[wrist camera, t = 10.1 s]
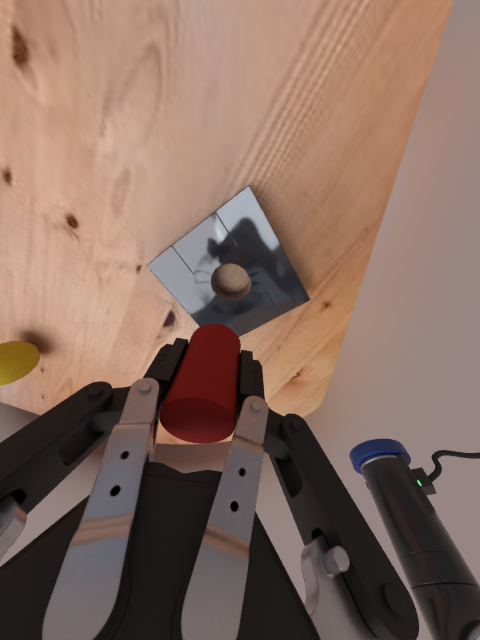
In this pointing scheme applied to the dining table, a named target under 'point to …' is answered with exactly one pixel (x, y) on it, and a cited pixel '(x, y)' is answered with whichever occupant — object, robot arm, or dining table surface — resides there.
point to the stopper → (205, 387)
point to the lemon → (17, 360)
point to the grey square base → (237, 248)
